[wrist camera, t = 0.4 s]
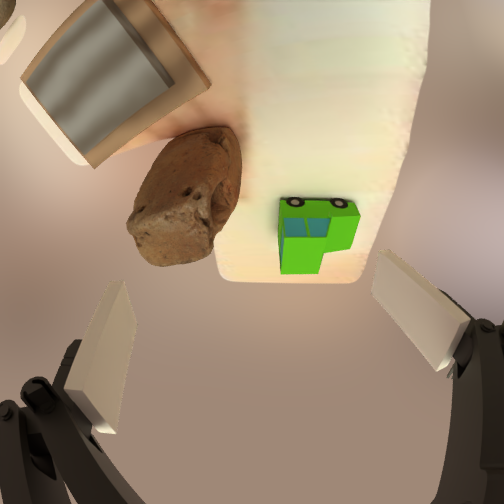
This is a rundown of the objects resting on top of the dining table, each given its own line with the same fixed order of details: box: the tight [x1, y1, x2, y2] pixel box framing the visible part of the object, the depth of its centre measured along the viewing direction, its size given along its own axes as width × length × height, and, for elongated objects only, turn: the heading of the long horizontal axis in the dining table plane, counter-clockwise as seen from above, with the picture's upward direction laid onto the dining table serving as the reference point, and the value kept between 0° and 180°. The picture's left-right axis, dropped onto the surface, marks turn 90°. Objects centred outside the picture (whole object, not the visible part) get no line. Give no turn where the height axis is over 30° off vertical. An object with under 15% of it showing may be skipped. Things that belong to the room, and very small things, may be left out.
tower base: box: [21, 0, 211, 169], centre depth 26 cm, size 22×22×6 cm
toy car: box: [278, 197, 361, 274], centre depth 45 cm, size 10×13×10 cm
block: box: [126, 127, 242, 267], centre depth 32 cm, size 11×8×20 cm
